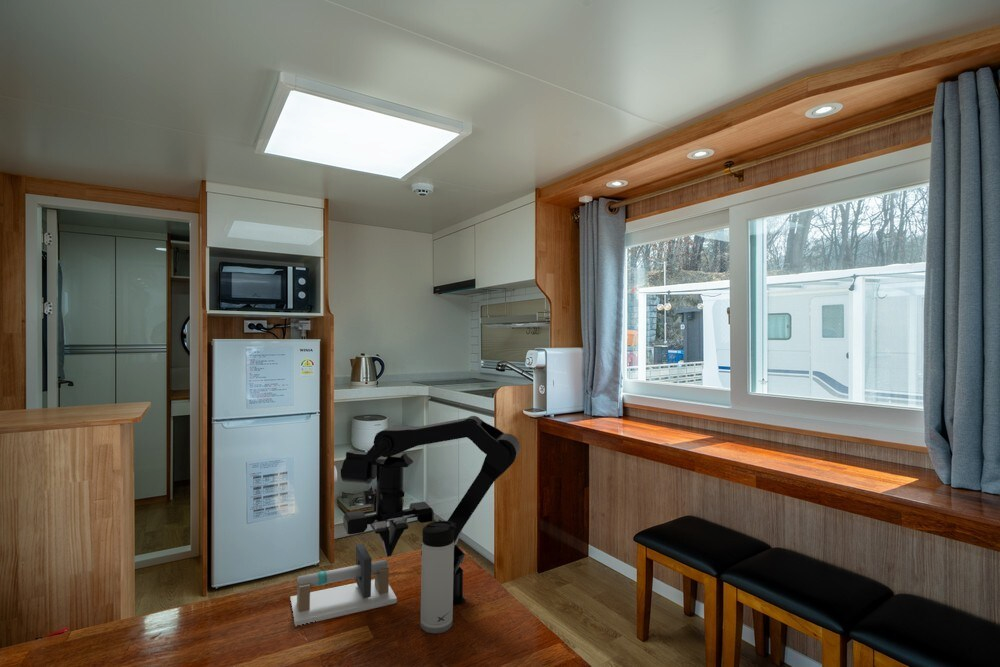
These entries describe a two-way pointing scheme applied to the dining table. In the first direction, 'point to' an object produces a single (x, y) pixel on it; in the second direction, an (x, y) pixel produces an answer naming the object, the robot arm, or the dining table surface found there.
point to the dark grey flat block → (364, 570)
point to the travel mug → (437, 576)
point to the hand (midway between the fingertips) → (388, 555)
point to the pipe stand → (340, 593)
